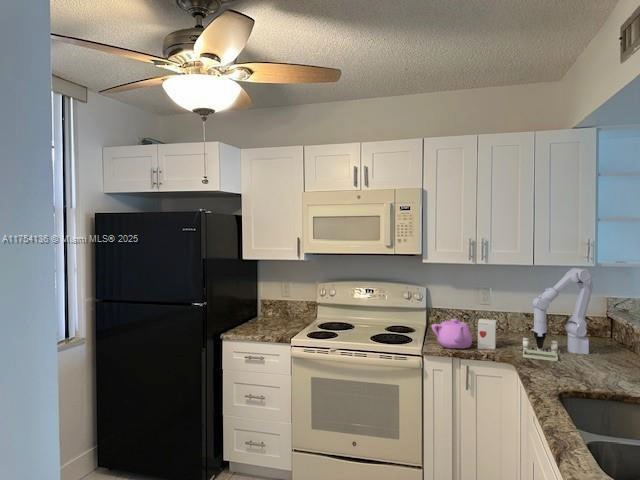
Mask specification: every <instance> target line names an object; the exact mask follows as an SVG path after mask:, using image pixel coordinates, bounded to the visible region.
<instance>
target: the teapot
mask: <svg viewBox="0 0 640 480" xmlns="http://www.w3.org/2000/svg"><path fill="white" fill-rule="evenodd" d="M437 328H438V331H437ZM431 330H432V332H433V333H434V335H436V339H437V342H438V344H439V345H440V346H441V347H444V348H447V349H449V350H452V349H462V350H465V349H467V348H470V347H471V346H472V343H473V338H472V333H471V330H470V328H469V326H468V324H467V323H465V322H463V321H458V319H457V318H451V319H450V320H445V321H441V322H440V324H439V323H434V324H431Z"/></svg>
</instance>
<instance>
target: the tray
mask: <svg viewBox="0 0 640 480" xmlns="http://www.w3.org/2000/svg"><path fill="white" fill-rule="evenodd" d="M525 353H532V354H525ZM533 354H539V355H533ZM540 354H541V355H542V356H540ZM543 355H546V356H543ZM547 355H549V356H555V357H548V356H547ZM558 356H559V355H557V353H554V352H545V351H536V350H527V349H523V351H522V358H528V359H538V360H544V361H553V362H554V361H555V362H559V357H558Z"/></svg>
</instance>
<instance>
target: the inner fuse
mask: <svg viewBox="0 0 640 480" xmlns="http://www.w3.org/2000/svg"><path fill="white" fill-rule="evenodd" d="M558 344H559V343H558V341H557V340H552V339H551V340H550V351H551V352H554V353H557V352H558Z"/></svg>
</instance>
